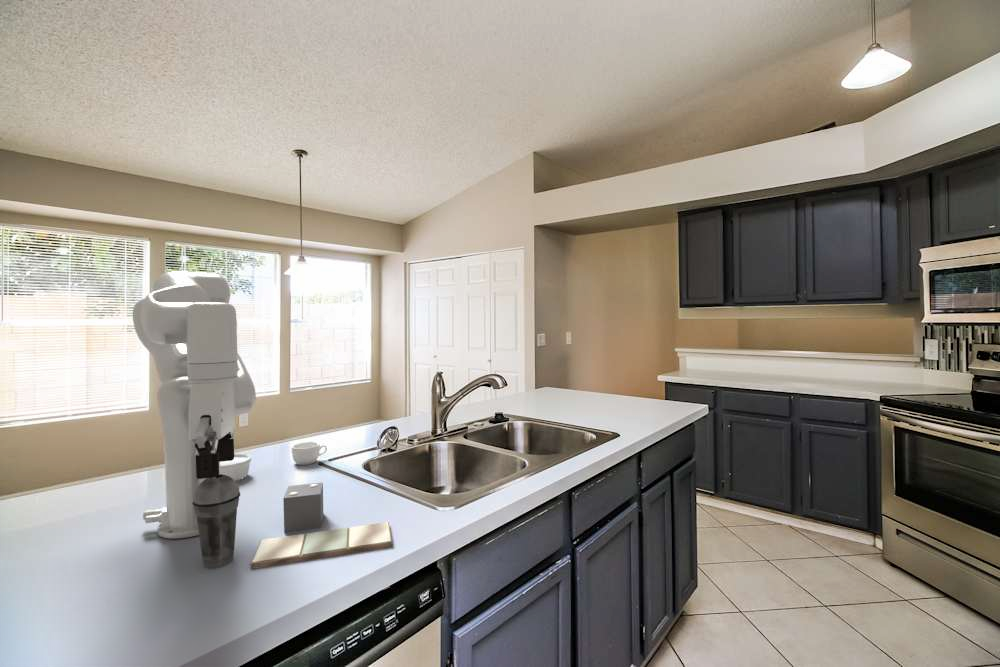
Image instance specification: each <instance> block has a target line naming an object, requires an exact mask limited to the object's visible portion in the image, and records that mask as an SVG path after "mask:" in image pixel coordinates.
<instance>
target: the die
mask: <svg viewBox="0 0 1000 667" xmlns="http://www.w3.org/2000/svg"><path fill="white" fill-rule="evenodd" d="M323 517H324V482H316V483H315V482H314V483H305V484H296V485H288V486H287V488H286V491H285V494H284V496H283V531H284V532H283V533H289V532H294V531H296V532H297V531H302V530H309V529H317V528H322V526H323V519H324V518H323Z"/></svg>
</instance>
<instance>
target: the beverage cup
mask: <svg viewBox="0 0 1000 667" xmlns="http://www.w3.org/2000/svg"><path fill="white" fill-rule="evenodd" d="M240 497H241V492H240V489H239V485H238V483H237V481H235V480H234V479H232V478H231V477H229V476H227V475H222V474H219V475H218V477H213V478H206V479H205V480H204V481H202V482H201V483H200V485H199V486H198V487H197V489H196V491H195V494H194V500H193V503H192V504H193V505H194V510H195V514H196V515H197V523H198V530H199V535H198V536H199V542H200V543H199V545H200V550H201V557H202V561H203V562H202V563H203V567H204V568H206V569H211V568H212V569H217V568H222V567H224V566H226V565H228V564H230V563H231V562H232V561H233V560H234V552H235V543H236V531H237V530H236V528H237V515H238V507H239V502H240Z"/></svg>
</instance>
